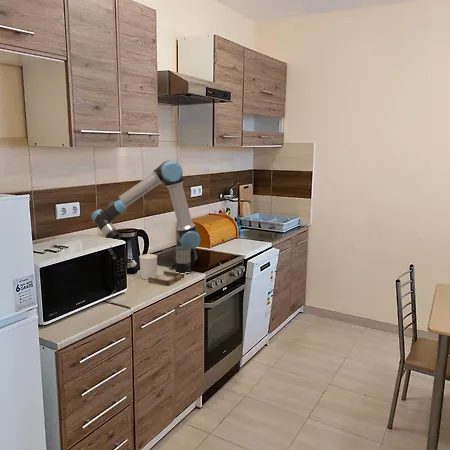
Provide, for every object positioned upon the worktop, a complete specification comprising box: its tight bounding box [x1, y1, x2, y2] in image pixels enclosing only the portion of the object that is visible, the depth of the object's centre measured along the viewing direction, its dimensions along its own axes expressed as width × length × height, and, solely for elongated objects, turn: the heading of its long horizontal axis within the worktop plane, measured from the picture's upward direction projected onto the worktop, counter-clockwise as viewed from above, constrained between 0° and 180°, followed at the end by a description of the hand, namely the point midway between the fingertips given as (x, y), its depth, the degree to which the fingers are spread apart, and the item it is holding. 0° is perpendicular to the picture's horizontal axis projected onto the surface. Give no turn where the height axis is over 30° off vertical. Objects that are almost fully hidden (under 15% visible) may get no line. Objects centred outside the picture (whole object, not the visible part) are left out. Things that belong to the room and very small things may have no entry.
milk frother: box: [168, 246, 196, 273], centre depth 251 cm, size 14×16×15 cm
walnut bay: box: [147, 270, 185, 287], centre depth 233 cm, size 15×13×2 cm
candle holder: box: [138, 253, 158, 280], centre depth 237 cm, size 10×10×12 cm
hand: (134, 265), depth 241 cm, fingers closed
